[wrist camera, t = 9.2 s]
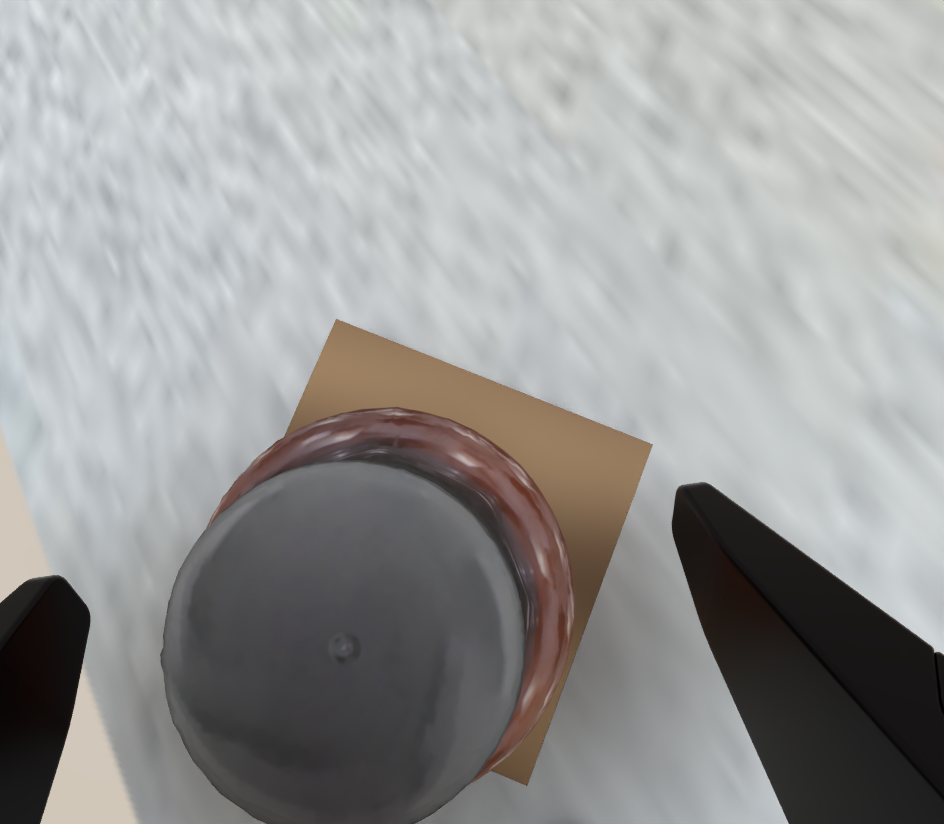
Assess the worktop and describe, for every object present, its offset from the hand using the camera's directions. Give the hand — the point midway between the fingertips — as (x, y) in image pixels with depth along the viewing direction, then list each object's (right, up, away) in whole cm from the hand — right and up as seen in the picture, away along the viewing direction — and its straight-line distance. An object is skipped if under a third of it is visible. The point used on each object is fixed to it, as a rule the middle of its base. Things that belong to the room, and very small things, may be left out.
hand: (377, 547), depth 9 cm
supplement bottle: (0, -2, +9) cm, 9 cm away
